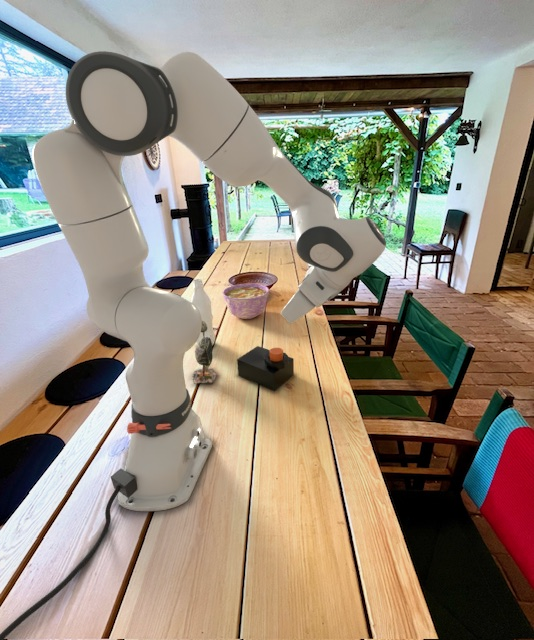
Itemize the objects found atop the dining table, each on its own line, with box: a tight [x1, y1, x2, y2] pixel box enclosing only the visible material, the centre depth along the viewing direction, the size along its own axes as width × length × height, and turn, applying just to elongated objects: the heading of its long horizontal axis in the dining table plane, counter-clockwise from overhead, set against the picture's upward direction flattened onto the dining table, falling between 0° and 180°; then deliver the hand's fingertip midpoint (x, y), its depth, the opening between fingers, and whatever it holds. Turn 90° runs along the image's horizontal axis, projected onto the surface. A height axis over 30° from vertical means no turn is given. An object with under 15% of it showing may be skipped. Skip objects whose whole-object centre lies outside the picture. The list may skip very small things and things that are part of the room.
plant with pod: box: [191, 321, 218, 385], centre depth 97 cm, size 8×11×20 cm
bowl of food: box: [222, 283, 270, 320], centre depth 140 cm, size 20×20×12 cm
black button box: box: [236, 345, 295, 392], centre depth 98 cm, size 15×10×8 cm
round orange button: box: [269, 347, 284, 362], centre depth 93 cm, size 4×4×2 cm
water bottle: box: [189, 278, 216, 347], centre depth 114 cm, size 7×7×25 cm
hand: (289, 313), depth 83 cm, fingers closed
